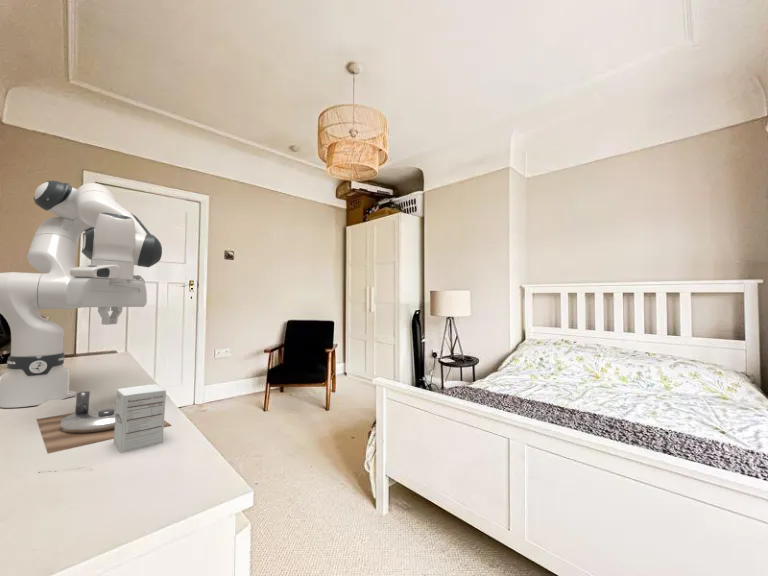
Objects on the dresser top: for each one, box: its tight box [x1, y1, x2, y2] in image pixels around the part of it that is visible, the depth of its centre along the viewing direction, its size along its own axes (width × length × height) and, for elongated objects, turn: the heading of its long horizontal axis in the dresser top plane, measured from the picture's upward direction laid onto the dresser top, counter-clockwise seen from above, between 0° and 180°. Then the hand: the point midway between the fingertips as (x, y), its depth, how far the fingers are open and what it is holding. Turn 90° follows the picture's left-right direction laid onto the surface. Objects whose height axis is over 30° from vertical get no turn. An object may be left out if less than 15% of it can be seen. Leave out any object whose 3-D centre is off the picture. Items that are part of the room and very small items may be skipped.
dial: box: [60, 390, 116, 433], centre depth 81 cm, size 18×16×6 cm
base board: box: [36, 412, 173, 454], centre depth 81 cm, size 28×21×2 cm
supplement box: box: [113, 383, 167, 454], centre depth 70 cm, size 7×7×13 cm
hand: (109, 324), depth 89 cm, fingers closed
